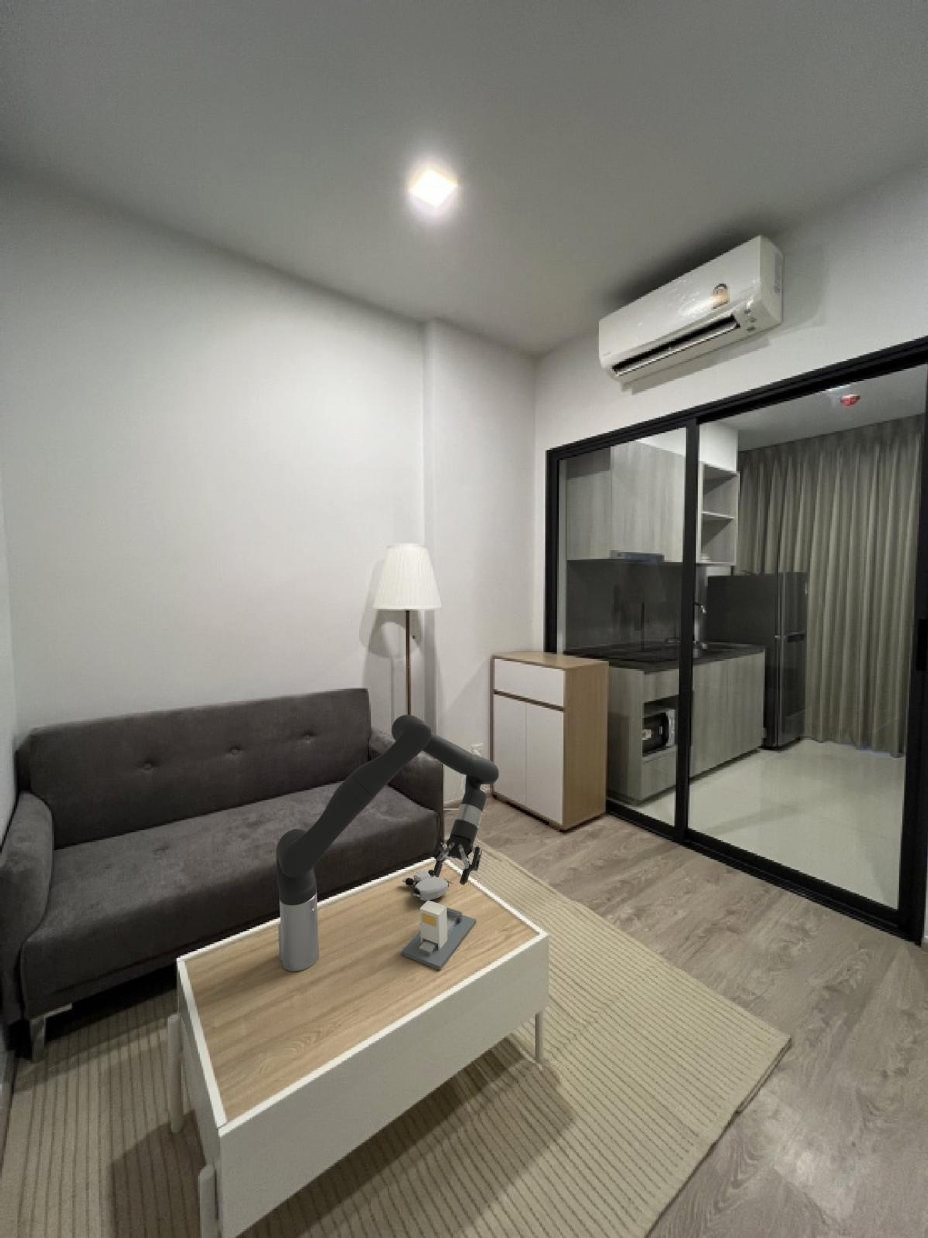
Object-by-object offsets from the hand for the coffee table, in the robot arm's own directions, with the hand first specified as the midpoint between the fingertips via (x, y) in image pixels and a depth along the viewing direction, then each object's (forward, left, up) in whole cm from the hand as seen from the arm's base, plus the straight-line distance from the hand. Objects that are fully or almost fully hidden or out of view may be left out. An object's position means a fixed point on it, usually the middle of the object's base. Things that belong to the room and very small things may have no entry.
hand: (448, 880), depth 137 cm
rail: (0, -5, -14) cm, 15 cm away
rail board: (0, -5, -14) cm, 15 cm away
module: (0, -8, -13) cm, 15 cm away
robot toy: (-15, +12, -14) cm, 24 cm away
